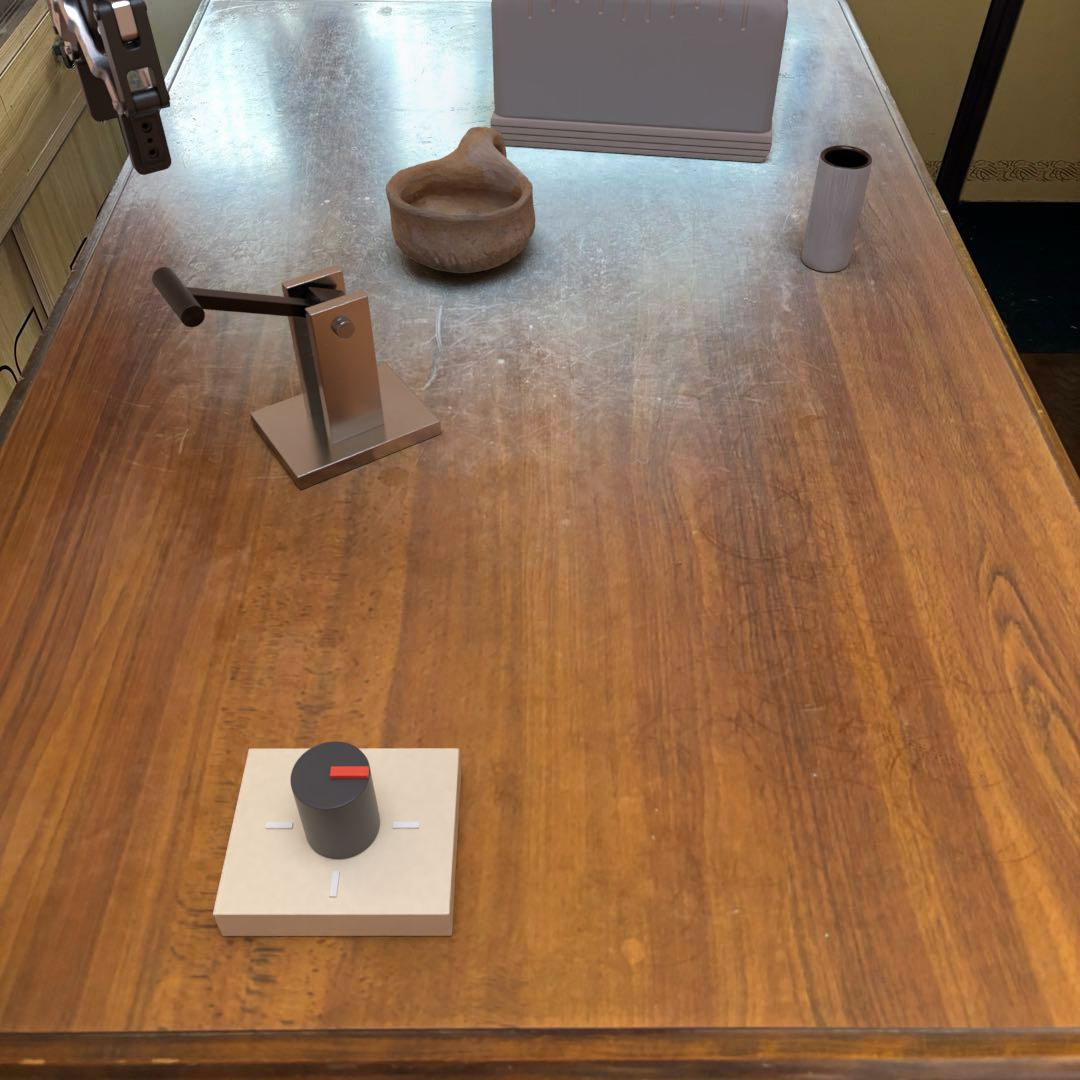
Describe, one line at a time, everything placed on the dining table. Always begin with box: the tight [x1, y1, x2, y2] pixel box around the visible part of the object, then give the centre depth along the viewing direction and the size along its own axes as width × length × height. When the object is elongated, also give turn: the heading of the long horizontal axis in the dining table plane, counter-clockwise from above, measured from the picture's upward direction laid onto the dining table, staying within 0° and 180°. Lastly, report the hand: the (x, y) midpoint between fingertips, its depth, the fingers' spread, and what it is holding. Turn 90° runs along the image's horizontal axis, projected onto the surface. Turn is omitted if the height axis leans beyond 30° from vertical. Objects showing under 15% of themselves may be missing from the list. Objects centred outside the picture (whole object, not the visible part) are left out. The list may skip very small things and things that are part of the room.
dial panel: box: [212, 747, 462, 937], centre depth 60 cm, size 12×10×3 cm
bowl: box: [385, 126, 536, 274], centre depth 103 cm, size 18×14×10 cm
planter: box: [800, 144, 873, 273], centre depth 101 cm, size 4×4×10 cm
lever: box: [151, 266, 347, 328], centre depth 75 cm, size 13×6×2 cm, turn 123°
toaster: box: [489, 0, 789, 163], centre depth 126 cm, size 30×36×18 cm
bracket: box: [249, 264, 442, 491], centre depth 82 cm, size 12×9×13 cm
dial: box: [290, 740, 380, 859], centre depth 57 cm, size 4×4×5 cm
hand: (130, 142), depth 69 cm, fingers open, 8 cm apart
